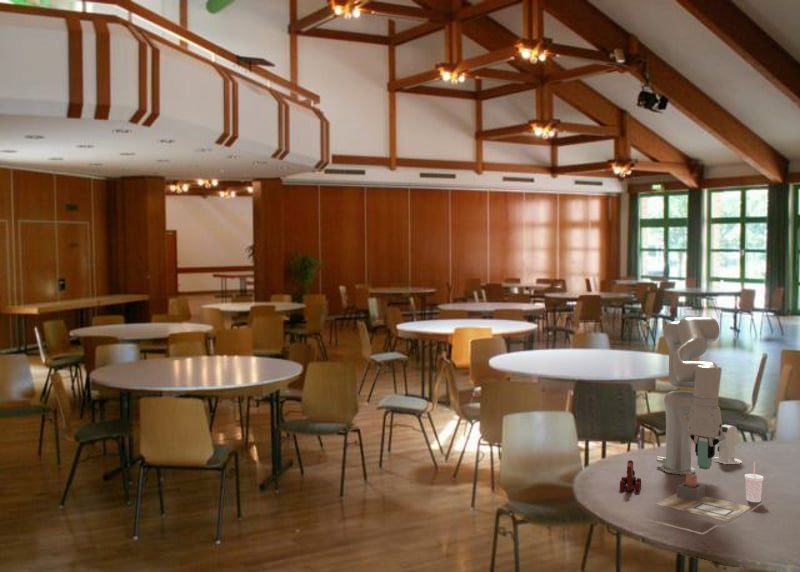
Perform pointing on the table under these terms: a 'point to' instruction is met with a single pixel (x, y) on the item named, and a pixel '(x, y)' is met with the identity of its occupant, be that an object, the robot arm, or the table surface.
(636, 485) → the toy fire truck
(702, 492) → the button housing
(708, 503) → the board
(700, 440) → the green and white block
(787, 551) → the table surface
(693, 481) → the button
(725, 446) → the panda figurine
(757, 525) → the table surface
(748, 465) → the table surface
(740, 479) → the table surface
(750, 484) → the beverage cup
